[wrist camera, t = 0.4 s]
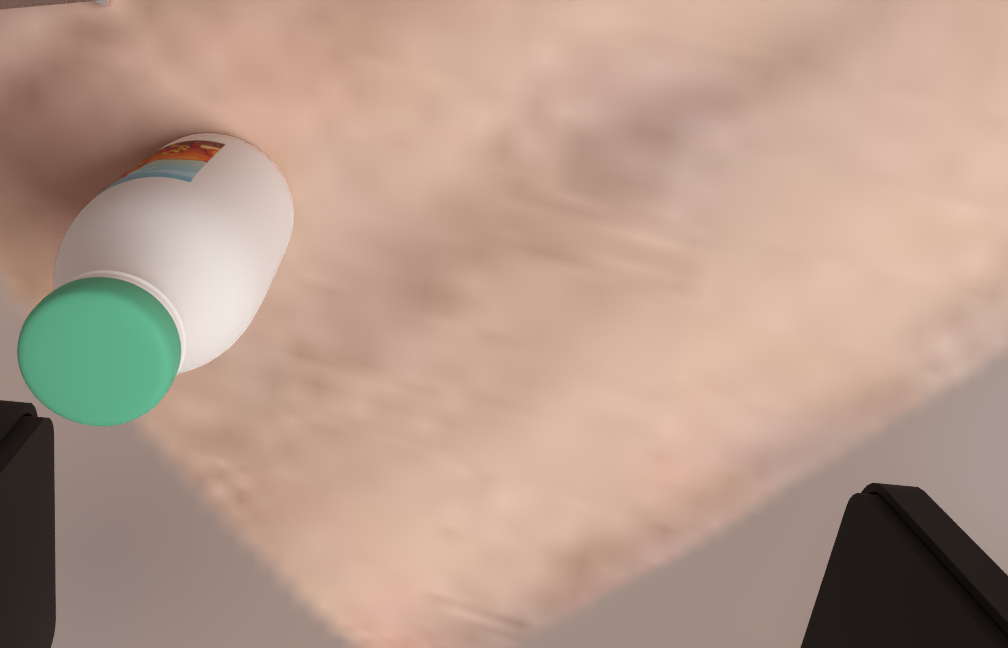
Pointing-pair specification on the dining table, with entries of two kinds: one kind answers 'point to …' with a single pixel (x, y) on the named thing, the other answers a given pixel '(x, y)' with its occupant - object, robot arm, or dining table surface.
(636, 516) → the dining table surface
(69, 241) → the milk bottle
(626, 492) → the dining table surface
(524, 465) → the dining table surface
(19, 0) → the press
